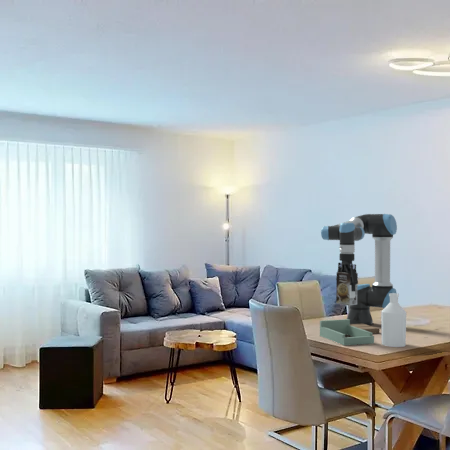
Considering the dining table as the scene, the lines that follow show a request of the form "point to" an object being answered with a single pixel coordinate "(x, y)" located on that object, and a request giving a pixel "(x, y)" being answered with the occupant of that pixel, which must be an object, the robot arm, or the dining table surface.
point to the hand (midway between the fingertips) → (346, 296)
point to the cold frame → (344, 332)
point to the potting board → (366, 328)
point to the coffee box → (344, 289)
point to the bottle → (393, 323)
